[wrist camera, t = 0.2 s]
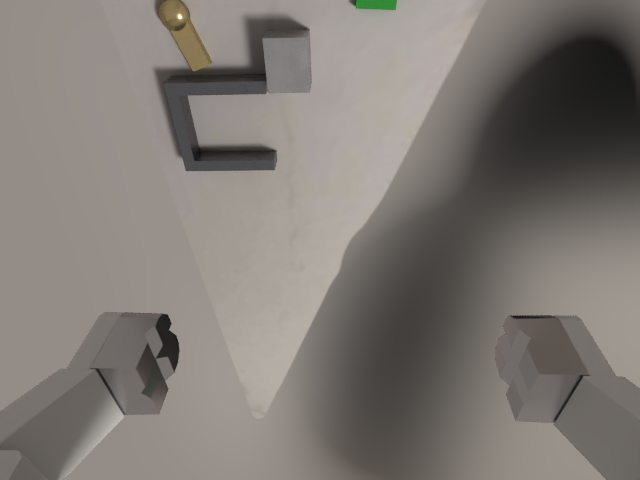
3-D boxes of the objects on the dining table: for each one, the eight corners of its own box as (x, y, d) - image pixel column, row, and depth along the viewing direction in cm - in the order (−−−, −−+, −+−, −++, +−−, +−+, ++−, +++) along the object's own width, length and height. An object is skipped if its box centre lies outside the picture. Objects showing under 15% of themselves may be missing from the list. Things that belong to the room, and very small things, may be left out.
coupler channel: (171, 76, 53) (163, 83, 50) (268, 74, 52) (264, 81, 50) (191, 161, 60) (185, 171, 58) (277, 160, 59) (274, 170, 57)
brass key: (156, 5, 48) (153, 6, 47) (179, -7, 47) (176, -5, 46) (193, 70, 52) (190, 73, 51) (215, 60, 51) (212, 63, 50)
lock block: (267, 29, 49) (262, 38, 46) (309, 28, 49) (307, 37, 45) (272, 81, 53) (268, 93, 49) (311, 80, 53) (309, 92, 49)
